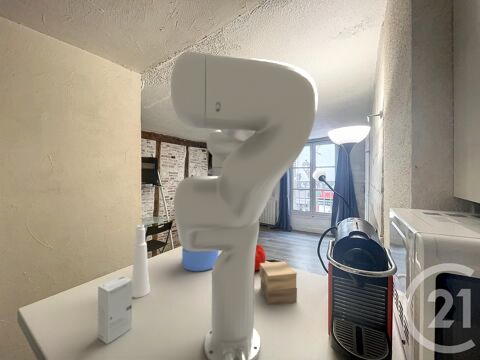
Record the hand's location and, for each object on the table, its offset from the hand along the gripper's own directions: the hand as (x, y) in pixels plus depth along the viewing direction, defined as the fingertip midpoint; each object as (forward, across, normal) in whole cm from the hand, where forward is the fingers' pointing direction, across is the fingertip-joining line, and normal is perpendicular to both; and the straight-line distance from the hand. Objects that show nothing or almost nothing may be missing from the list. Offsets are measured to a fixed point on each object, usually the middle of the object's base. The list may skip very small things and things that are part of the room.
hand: (222, 225), depth 69 cm
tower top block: (+17, +17, -6) cm, 25 cm away
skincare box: (+22, -27, -16) cm, 38 cm away
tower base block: (+22, +18, -6) cm, 29 cm away
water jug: (+22, -8, +21) cm, 31 cm away
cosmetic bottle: (+22, -27, +1) cm, 34 cm away
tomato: (+22, +14, +14) cm, 29 cm away
